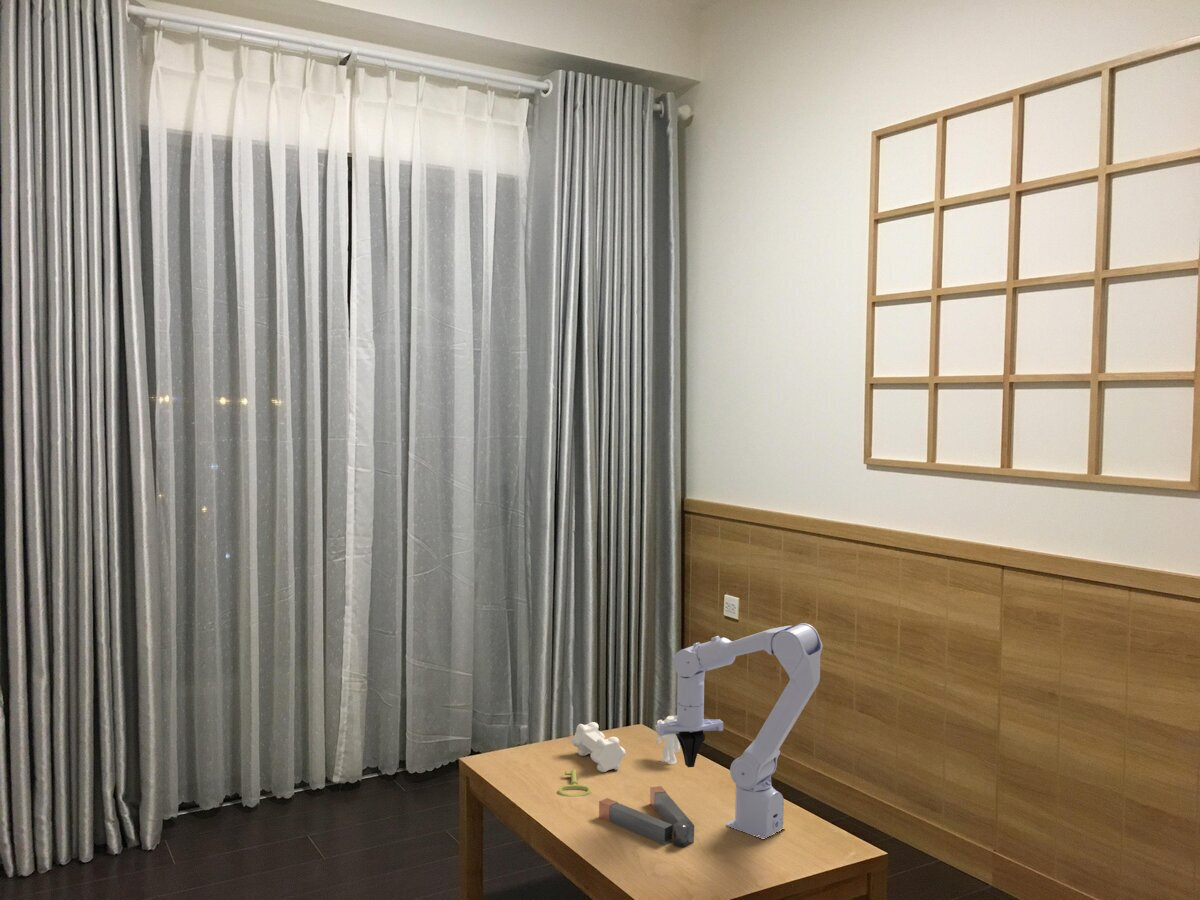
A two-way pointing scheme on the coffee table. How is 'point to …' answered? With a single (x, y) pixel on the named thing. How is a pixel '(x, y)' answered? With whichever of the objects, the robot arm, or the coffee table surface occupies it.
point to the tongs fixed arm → (635, 821)
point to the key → (573, 785)
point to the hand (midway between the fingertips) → (689, 765)
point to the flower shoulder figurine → (669, 743)
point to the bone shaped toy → (598, 747)
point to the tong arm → (672, 816)
